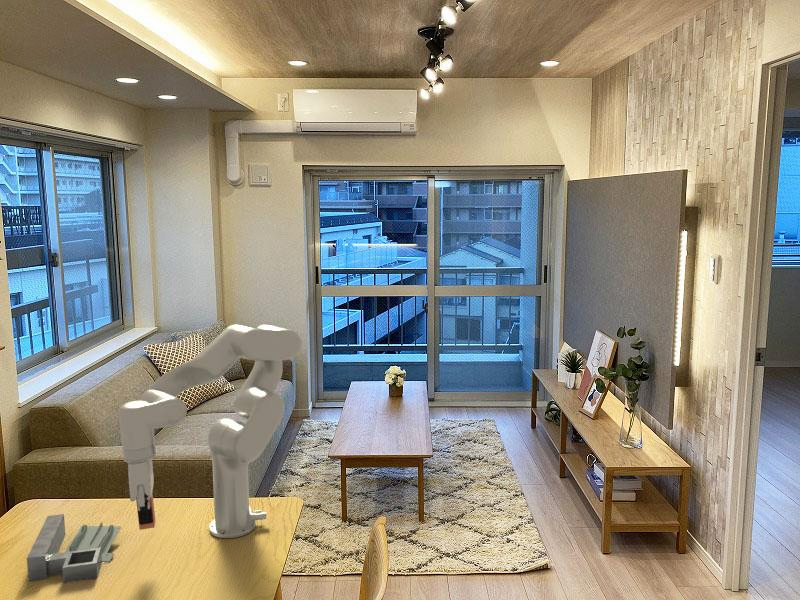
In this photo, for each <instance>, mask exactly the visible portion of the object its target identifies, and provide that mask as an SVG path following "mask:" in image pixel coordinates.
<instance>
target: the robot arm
mask: <svg viewBox="0 0 800 600" xmlns="http://www.w3.org/2000/svg"><path fill="white" fill-rule="evenodd" d="M301 348H302V338H301V337H300V335H299V334H298V332H296V331H295V330H292V329H290V328H286V327H280V326H277V325H272V324H261V325H259V326H257V327H256V328H255V327H250V326H247V325H243V324H242V325H241V324H231V325H229V326H227V327H226V328H225V329H223V331H221V332H220V334H218V335H217V336H216V337H215V338H214V339H213V340H212V341H211V342H210V343H209V344H208V345H206V347H204V348H203V349H202V350H201V351H200V352H199V353H198V354H197V355H196V356H195V357H193V358H192V359H190V360H188V361H186V362H183V363H182V364H179V365H178V366H176V367H174V368H172V369H169V370H168V371H167V372H165V373H164V374H163V375H161V376H159V377H158V378H157V380H155V381H154V382H153V383H152V384H151V385H150V386H149V387H148V388H147V389H146V390H145V391H144V393H142V395H141V397H140V399H139V400H134V401H133V400H132V401H128V402H126V403H123V404H122V405H121V406H120V407H119V408H118V420H119V422H118V423H119V430H120V431H119V432H120V438H121V439H120V440H121V446H122V448H121V449H122V454H123V455H122V456H123V461H124V462H125V463H127V467H128V468H127V471H128V474H127V475H128V485H129V486H128V488H129V499H130V502H133V503H134V501H135V502H136V497H137V502H138V511H137V517H139V520H138V525H139V524H140V525H143V524H149V523H153V515H152V507H150V498H151V496H152V493H153V489H154V479H155V478H154V466H153V458H155V457H156V456H157V450H156V438H155V430H156V429H162V428H163V429H164V428H169V427H173V426H176V425H178V424H180V423H182V422H183V421H184V419H185V418H186V416H187V412H188V408H187V405H186V403H185V401H183V400H182V399H181V398H179V397H178V396H179V395H181V394H182V393H183V392H185V391H187V390H189V389H191V388H195V387H198V386H204V385H209V384H213V383H215V382H218V381H219V380H220V379H221V378H222V377H223V376H224V375H225V374H226V373H227V372H228V371H229V370H230V369H231V367H233V366H234V365H235V364H236V363H237V362H238V361H239V360H240V359H241V358H243V359H246V360H250V361H254V365H253V367H252V369H251V371H250V373H249V375H248V377H247V378H246V379H245V382H244V383H243V384H242V386H241V388H240V389H239V391H238V392H237V394H236V396H235V398H234V400H233V402H232V409H233V411H234V413H235V414H236V415H237V416H239V417H241V418H243V419H245V420H246V422H245V423H244V422H242V421H239V420H237V419H235V418H229V417H228V418H227V417H226V418H225V417H224V418H221V419H218V420H216V421H214V423H213V424H212V425H211V427H210V429H209V431H208V436H207V443H208V448H209V451H210V452H209V453H210V457H211V463H212V484H213V485H212V486H213V506H214V520H212V521H211V522H210V523H209V532H210V534H211V535H213V537H217V538H221V539H236V538H239V537H242V536H245V535H248V534H249V533H251V532H252V531H253V530H254V529H255V528H256V521H262V520H267V512H266V511H265V512H264V511H263V512H262V509H257V510H253V509H251V505H250V493H249V492H250V488H249V487H250V485H249V465H248V464H250V463H252V462H254V461H256V460H257V459H258V458H259V457H260V456H261V455H262V454H263V452H264V450H265V449H266V447H267V446H268V444H269V442H270V441H271V439H272V438H273V435H275V432H276V430H277V429H278V427H279V425H280V423H281V422H282V420H283V417H284V414H285V403H284V399H283V398H282V397H281V396H280V395H279V394H277V393H276V392H275V391H276V389H277V387H278V385H279V383H280V381H281V379H282V376H283V371H284V370H283V368H284V367H283V361H286V360H291V359H293V358H295V357H296V356H297V355H298V354H299V353H300V351H301ZM145 495H147V496H146V497H145ZM145 500H147V502H145ZM137 502H136V503H137Z"/></svg>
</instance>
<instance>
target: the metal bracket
mask: <svg viewBox="0 0 800 600" xmlns="http://www.w3.org/2000/svg"><path fill="white" fill-rule="evenodd" d="M121 529H122V526H114V524H109V525H106V526H105V525H103V521H101V522H100V523H99V524H98V526H97V525H87V524H82V525H81V526H80V527H79V529H78V531H77V532H76V534H75V535H74V537H73V539H72V541H71V542H70V543H69V545H68V546H67V548H66V550H64V552H70V551H78V550H85V549H93V548H100V547H101V554H102V562H109V563H110V562H111V561H112V559H113V557H114V555H115V553H113V552H109V550H110V548H111V546H112V545H113V543H114V542H115V540H116V538H117V536H118V534H119V533H120V530H121Z"/></svg>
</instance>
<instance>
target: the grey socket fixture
mask: <svg viewBox="0 0 800 600" xmlns="http://www.w3.org/2000/svg"><path fill="white" fill-rule="evenodd" d="M65 523H66V522H65V513H60V514H53V515H52V514H51V515H47V516H46V518H45V521H44V523H43V524H42V527H41V529H40V531H39V533H38V535H37V537H36V539H35V540H34V543H33V544H32V547H31V549H30V551H29V553H28V554H27V557H26V564H27V565H26V566H27V567H26V568H27V575H28V576H27V577H28V578H27V579H28V582H31V581H32V582H33V581H40V580H45V579H48V577H49V576H56V575H62V580H63V581H62V583H63V584H68V583H73V581H75V582H81V580H82V581H87V580H94V578H95V579H98V577H99V573H100V571H99V570H101V567H102V564H103V563H102V554H101V547H100V548H93V549H85V550H78V551H70V552H65V551H63V552H60V548H61V546H62V544H63V542H64V539H65V536H66V524H65ZM101 563H102V564H101ZM67 582H68V583H67Z"/></svg>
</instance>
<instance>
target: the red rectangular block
mask: <svg viewBox="0 0 800 600" xmlns="http://www.w3.org/2000/svg"><path fill="white" fill-rule="evenodd" d="M146 496H147V495H145V497H146ZM135 502H136V510H137V512H138V502H137V497H136V500H135ZM145 502H147V500H145ZM150 507H152V515H153V523H149V524H143V525H140V524H139V523H138V527H139V528H138V529H139V531H141V530H142V531H143V530H147V529H154V528H155V527H156V526H155V525H156V515H155V514H156V513H155V505H154V495H153V492H152V496H151V498H150ZM137 517H138V516H137ZM137 519H138V521H139V517H138V518H137Z"/></svg>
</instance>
